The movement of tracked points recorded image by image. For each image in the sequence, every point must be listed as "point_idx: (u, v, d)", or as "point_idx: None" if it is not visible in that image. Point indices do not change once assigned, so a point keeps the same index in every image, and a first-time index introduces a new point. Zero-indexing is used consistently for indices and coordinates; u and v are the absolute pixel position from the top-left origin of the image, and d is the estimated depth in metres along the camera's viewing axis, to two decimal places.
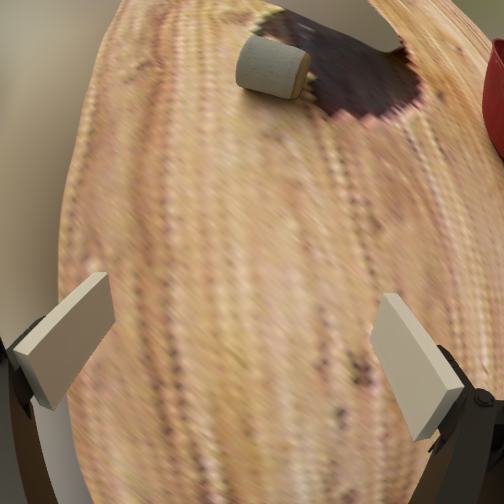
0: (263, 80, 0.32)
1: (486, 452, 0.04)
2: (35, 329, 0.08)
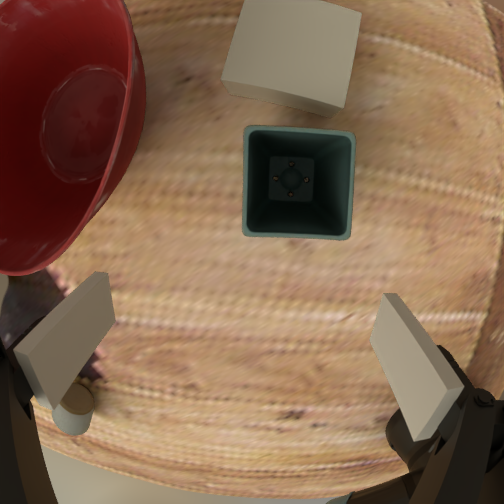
0: (88, 422, 0.40)
1: (486, 452, 0.04)
2: (35, 329, 0.08)
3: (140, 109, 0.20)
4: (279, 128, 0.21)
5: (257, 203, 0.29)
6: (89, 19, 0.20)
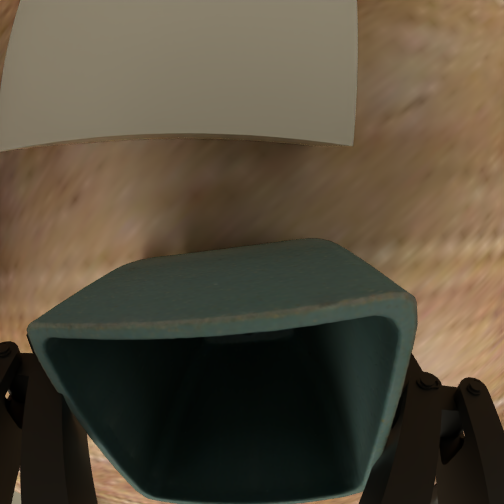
0: None
1: (436, 436, 0.05)
2: None
3: None
4: (105, 333, 0.05)
5: (178, 377, 0.13)
6: None
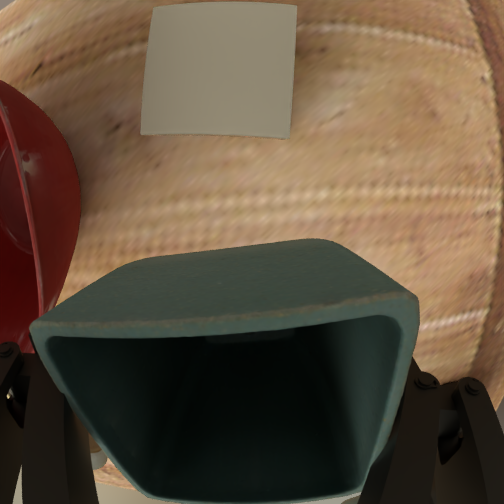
0: (105, 455, 0.40)
1: (434, 436, 0.05)
2: None
3: (59, 201, 0.17)
4: (109, 331, 0.05)
5: (179, 376, 0.13)
6: None
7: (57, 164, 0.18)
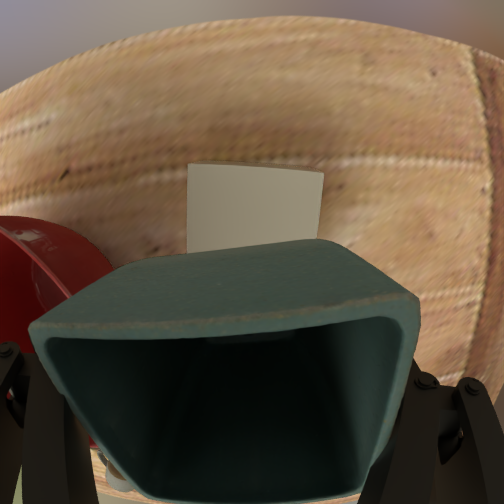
0: None
1: (434, 436, 0.05)
2: None
3: None
4: (108, 333, 0.05)
5: (179, 377, 0.13)
6: (36, 220, 0.24)
7: None
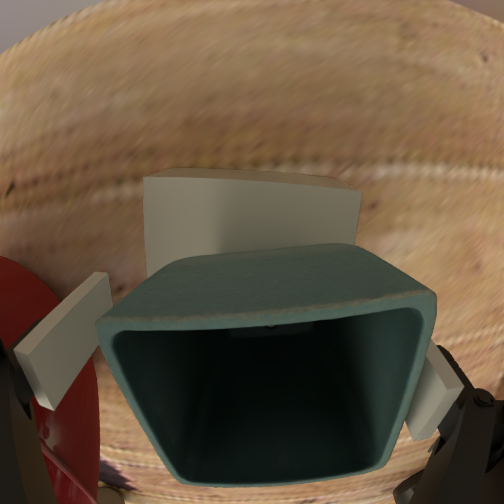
0: None
1: (486, 452, 0.04)
2: (35, 329, 0.08)
3: (85, 425, 0.15)
4: (187, 324, 0.06)
5: (207, 368, 0.14)
6: None
7: (70, 387, 0.15)
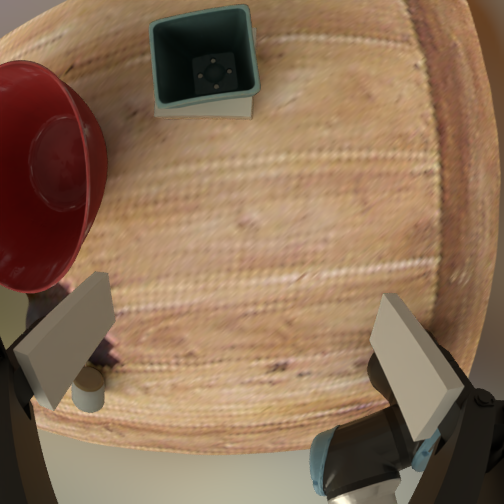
0: (102, 398, 0.51)
1: (486, 452, 0.04)
2: (35, 329, 0.08)
3: (100, 157, 0.28)
4: (177, 16, 0.19)
5: (181, 95, 0.27)
6: (45, 85, 0.27)
7: (98, 134, 0.28)
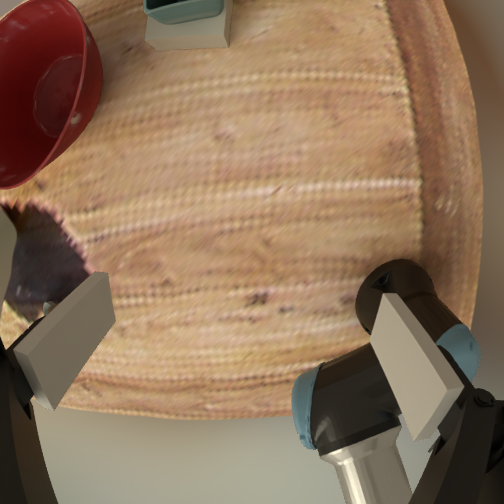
0: None
1: (486, 452, 0.04)
2: (35, 329, 0.08)
3: (95, 65, 0.28)
4: None
5: None
6: (58, 25, 0.28)
7: (96, 50, 0.28)
